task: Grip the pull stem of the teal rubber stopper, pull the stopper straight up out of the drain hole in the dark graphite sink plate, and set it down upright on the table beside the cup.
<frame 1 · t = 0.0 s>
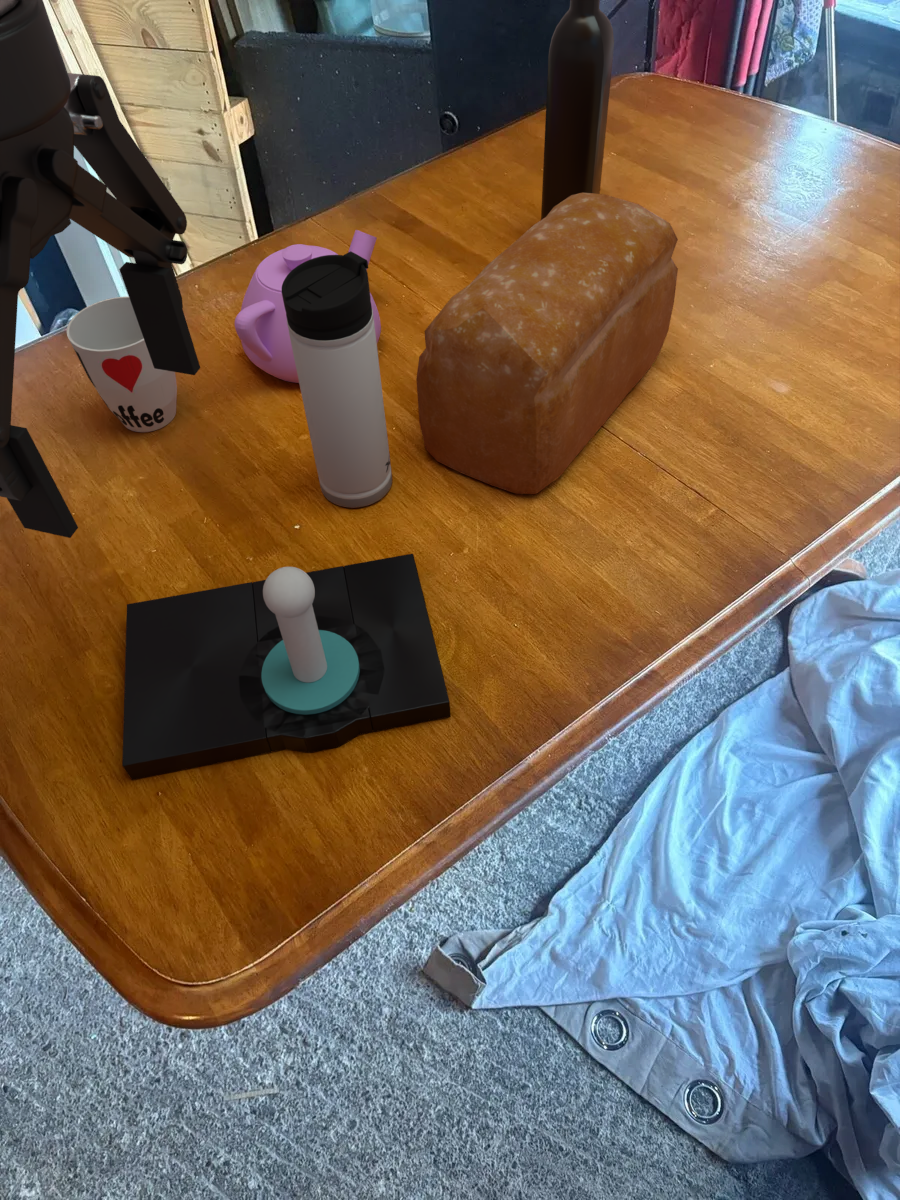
hand: (119, 442, 49), 21 cm above the table, tool pointing down, fingers open, 13 cm apart
sink plate: (285, 666, 65), on the table
bread: (547, 400, 84), on the table
wine bottle: (567, 240, 102), on the table
teapot: (319, 346, 90), on the table
cup: (150, 416, 84), on the table
stopper: (315, 688, 64), resting in sink plate
travel mug: (358, 484, 78), on the table
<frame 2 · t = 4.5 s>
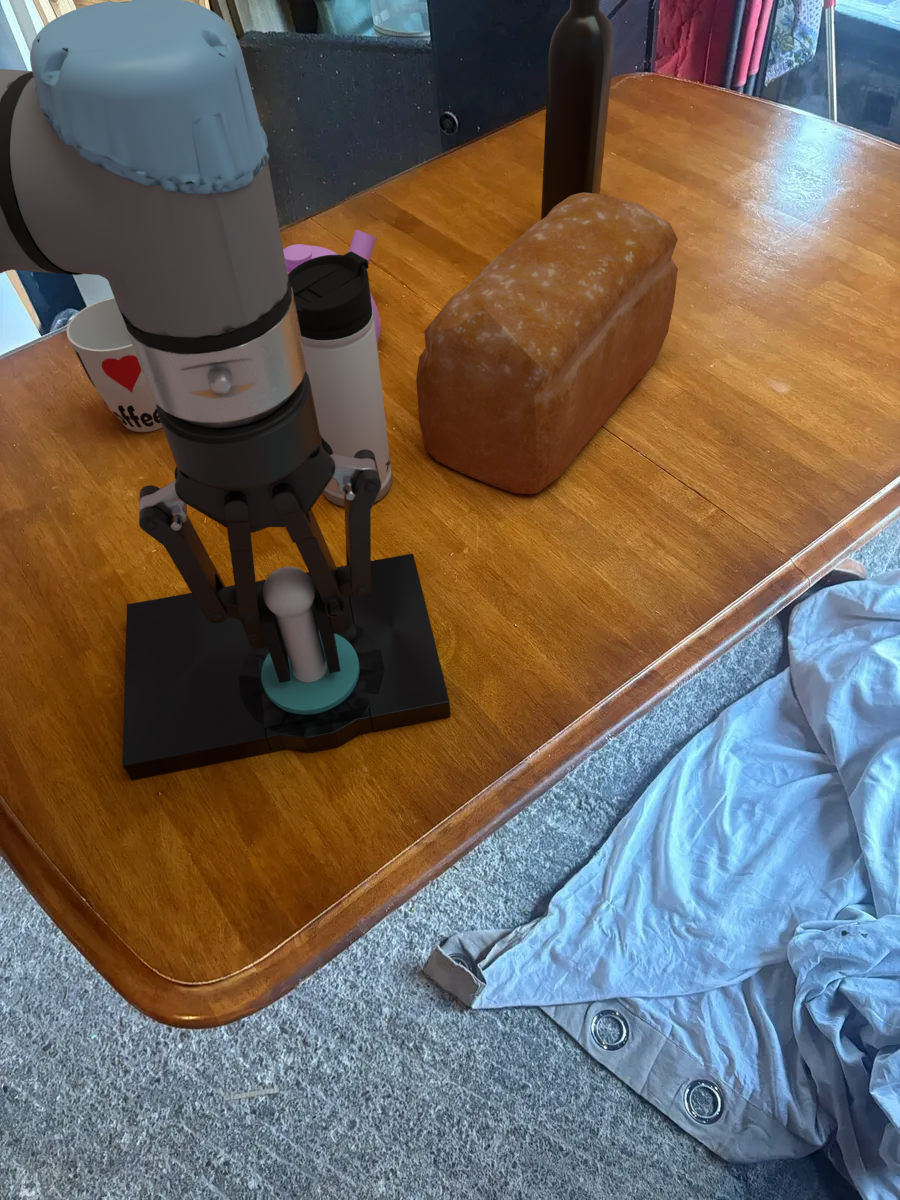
hand: (307, 660, 61), 4 cm above the table, tool pointing down, fingers closed on stopper, 3 cm apart
stopper: (315, 688, 64), resting in sink plate, touching gripper
everything else where it was.
when the fingers open (3 cm above the table, at t = 12.5 s): stopper stays where it is, on the table.
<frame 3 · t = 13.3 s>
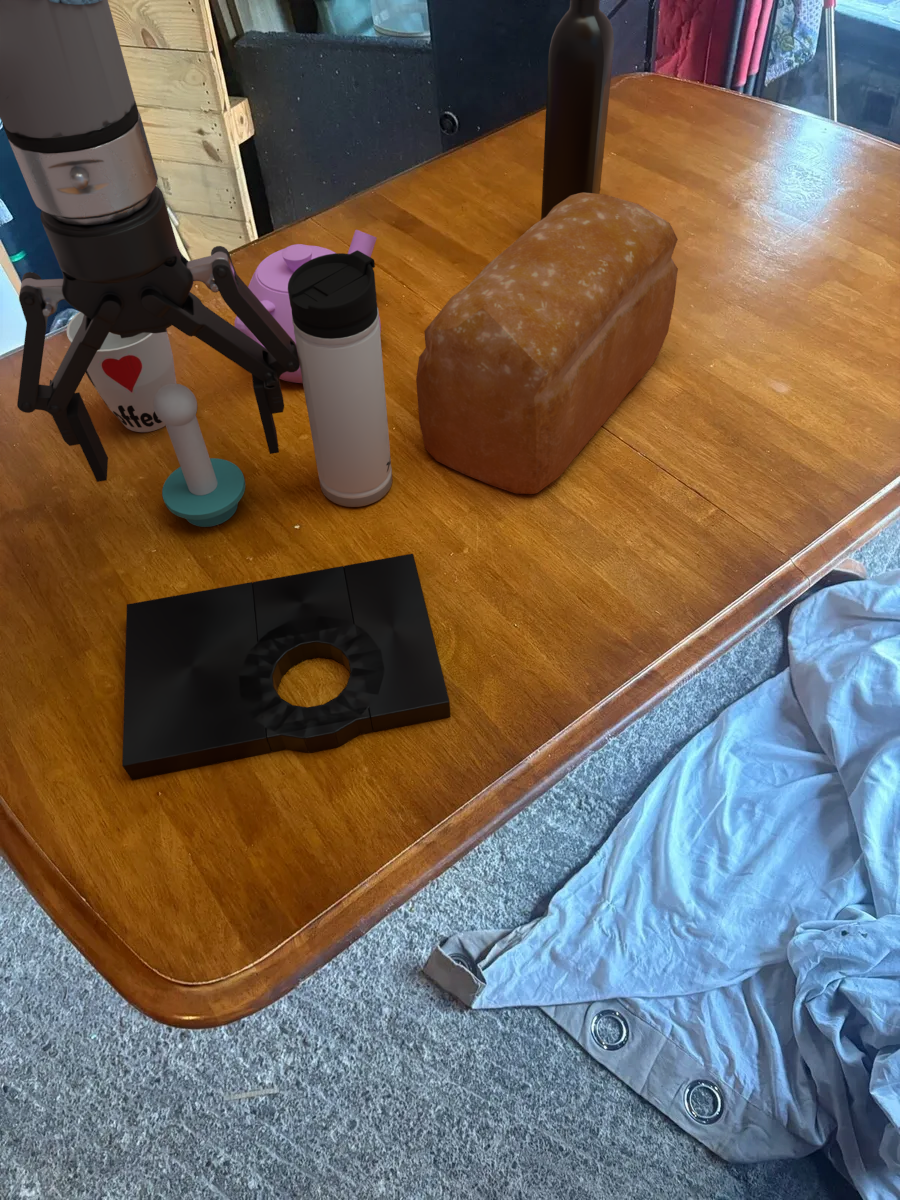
hand: (188, 456, 71), 6 cm above the table, tool pointing down, fingers open, 13 cm apart
stopper: (210, 507, 76), on the table
travel mug: (358, 483, 78), on the table, touching gripper
everything else where it was.
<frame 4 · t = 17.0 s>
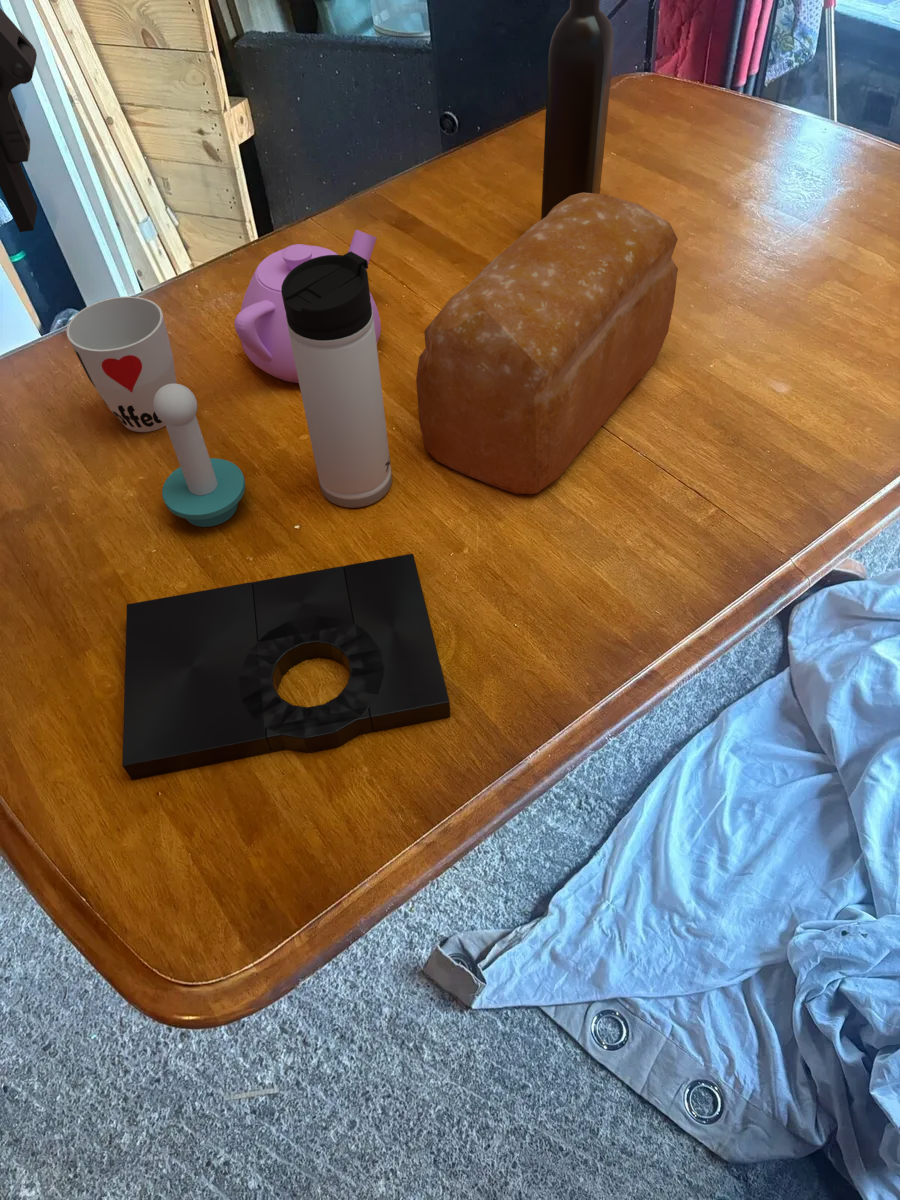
travel mug: (358, 484, 78), on the table
everything else where it was.
at the end: stopper moved 21.6 cm from its start; stopper 14.9 cm from the cup (horizontally); stopper tilted 0° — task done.
